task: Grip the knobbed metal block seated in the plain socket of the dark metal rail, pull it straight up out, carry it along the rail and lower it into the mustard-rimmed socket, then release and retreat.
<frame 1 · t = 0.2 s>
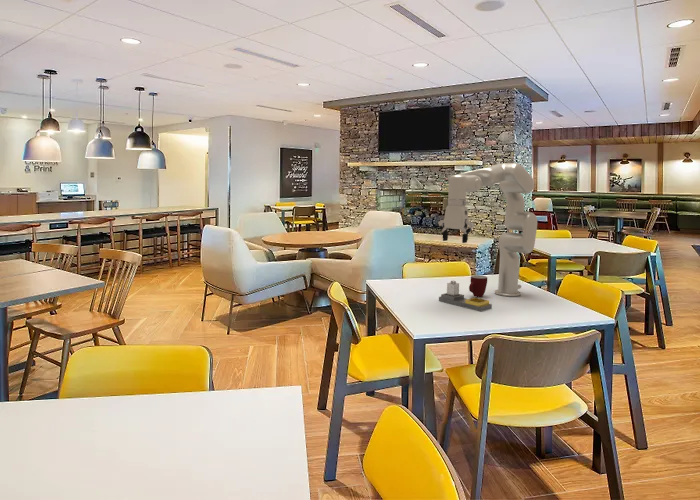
hand: (454, 241, 221), 30 cm above the table, fingers open, 9 cm apart
rail: (464, 304, 230), on the table
mug: (476, 297, 246), on the table
knobbed metal block: (452, 297, 235), point 2 cm above the table, touching rail
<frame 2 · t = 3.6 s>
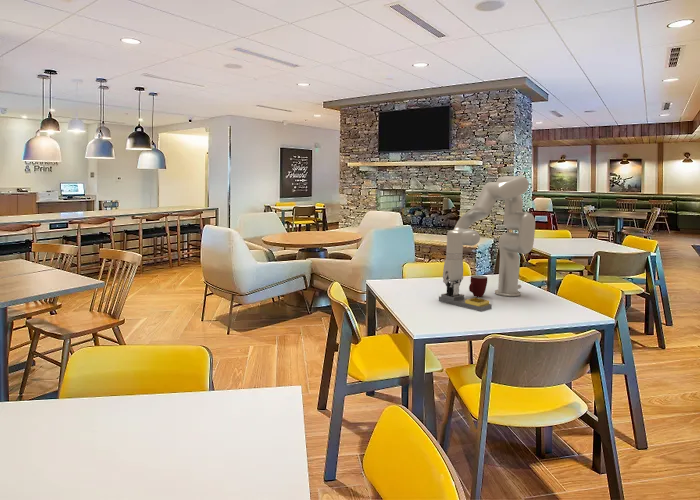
hand: (452, 294, 235), 4 cm above the table, fingers closed on knobbed metal block, 4 cm apart
knobbed metal block: (452, 297, 235), point 2 cm above the table, touching gripper, rail
everything else where it was.
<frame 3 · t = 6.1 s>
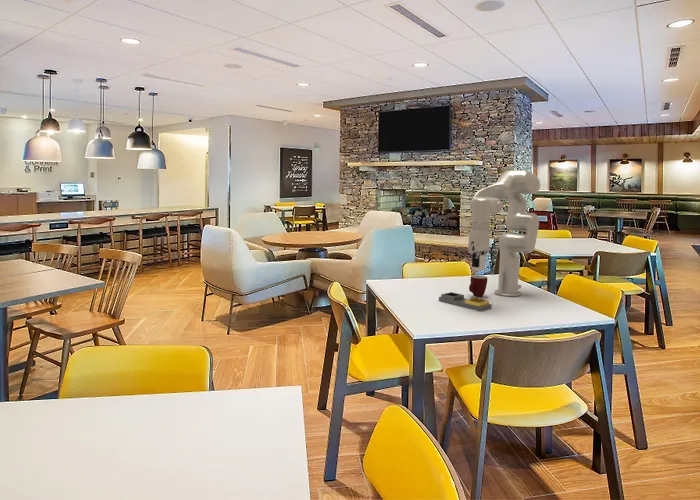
hand: (478, 266, 223), 19 cm above the table, fingers closed on knobbed metal block, 4 cm apart
knobbed metal block: (478, 270, 223), point 17 cm above the table, touching gripper
everything else where it was.
when the fingers open (4 cm above the table, at t = 8.9 s): knobbed metal block stays where it is, resting on rail.
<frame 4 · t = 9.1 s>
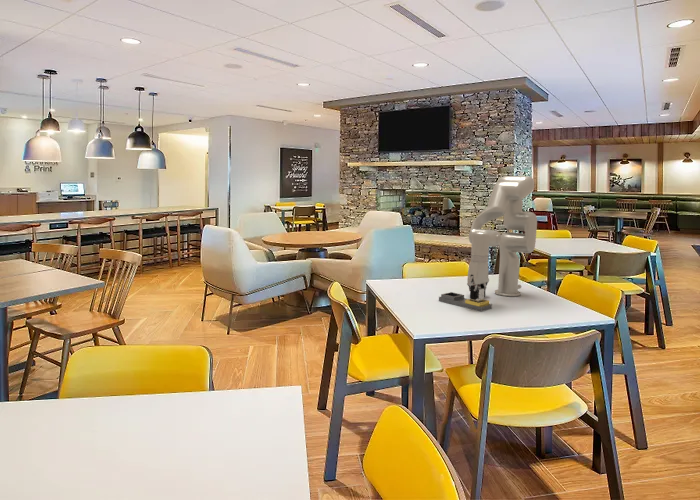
hand: (477, 297, 224), 5 cm above the table, fingers open, 5 cm apart
knobbed metal block: (477, 303, 225), point 2 cm above the table, touching rail
everything else where it was.
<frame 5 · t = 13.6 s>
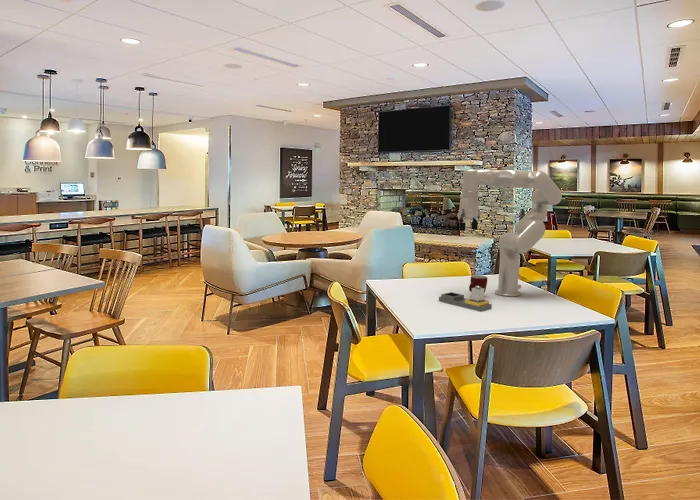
hand: (468, 230, 242), 33 cm above the table, fingers open, 9 cm apart
nothing on the table moved.
at the end: knobbed metal block 0.1 cm from the target spot on the rail, point 2.0 cm above the rail's base; knobbed metal block tilted 0°; the gripper is holding nothing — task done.
